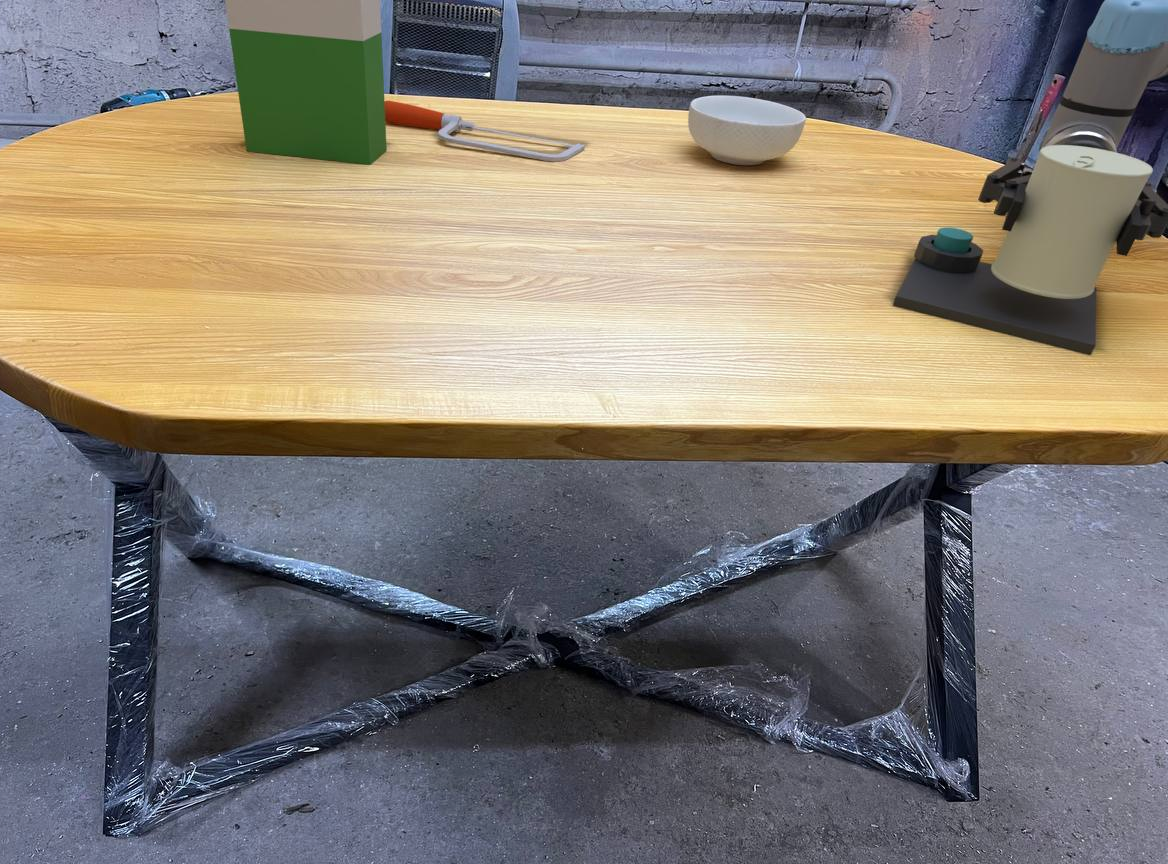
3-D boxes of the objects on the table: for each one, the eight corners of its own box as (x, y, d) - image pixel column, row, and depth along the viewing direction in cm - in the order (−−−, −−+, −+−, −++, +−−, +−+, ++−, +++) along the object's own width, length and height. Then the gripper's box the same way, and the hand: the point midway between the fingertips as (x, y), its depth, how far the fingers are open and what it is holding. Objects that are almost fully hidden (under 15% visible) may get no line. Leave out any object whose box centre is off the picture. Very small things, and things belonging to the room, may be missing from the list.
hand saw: (588, 133, 123) (572, 152, 116) (585, 155, 125) (569, 174, 118) (387, 97, 129) (359, 112, 121) (387, 118, 131) (359, 134, 123)
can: (974, 274, 81) (1025, 147, 74) (1013, 254, 86) (1065, 134, 79) (1071, 308, 76) (1136, 175, 69) (1107, 284, 81) (1171, 158, 74)
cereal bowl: (729, 180, 115) (740, 126, 111) (660, 147, 127) (667, 98, 123) (818, 168, 122) (831, 118, 118) (745, 139, 134) (754, 92, 129)
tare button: (969, 247, 91) (975, 232, 90) (965, 257, 89) (971, 241, 88) (935, 240, 92) (940, 224, 91) (930, 249, 90) (936, 234, 89)
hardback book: (246, 151, 113) (217, -56, 99) (268, 137, 119) (244, -60, 105) (370, 164, 112) (358, -44, 97) (386, 150, 118) (377, -49, 103)
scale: (1091, 295, 89) (1104, 269, 87) (1090, 356, 77) (1105, 327, 75) (915, 255, 96) (924, 230, 94) (889, 306, 84) (899, 278, 82)
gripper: (1170, 225, 88) (1185, 297, 72) (958, 183, 96) (929, 240, 80) (1209, 153, 84) (1234, 213, 68) (983, 115, 92) (958, 161, 76)
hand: (1069, 228), depth 74 cm, fingers closed on can, 9 cm apart
